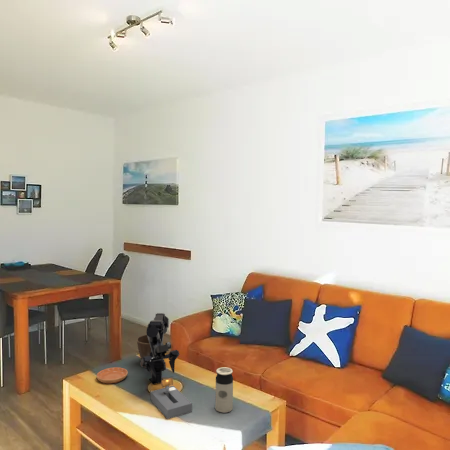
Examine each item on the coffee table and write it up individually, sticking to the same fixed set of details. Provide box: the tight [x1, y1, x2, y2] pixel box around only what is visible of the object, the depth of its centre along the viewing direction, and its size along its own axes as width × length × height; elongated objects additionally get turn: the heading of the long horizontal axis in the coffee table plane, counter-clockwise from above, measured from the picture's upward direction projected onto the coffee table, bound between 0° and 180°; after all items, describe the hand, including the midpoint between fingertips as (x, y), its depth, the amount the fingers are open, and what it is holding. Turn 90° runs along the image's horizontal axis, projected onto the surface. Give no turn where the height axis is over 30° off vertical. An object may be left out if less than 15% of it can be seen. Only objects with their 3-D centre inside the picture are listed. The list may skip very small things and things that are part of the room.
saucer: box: [96, 366, 129, 385], centre depth 213 cm, size 16×16×3 cm
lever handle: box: [160, 377, 174, 398], centre depth 188 cm, size 3×5×10 cm
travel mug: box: [214, 366, 234, 414], centre depth 183 cm, size 8×8×18 cm
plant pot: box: [136, 334, 151, 361], centre depth 229 cm, size 15×15×16 cm
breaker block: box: [149, 385, 193, 420], centre depth 185 cm, size 20×12×4 cm, turn 32°
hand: (165, 374), depth 190 cm, fingers open, 9 cm apart
